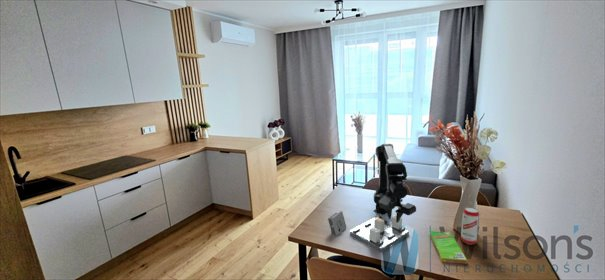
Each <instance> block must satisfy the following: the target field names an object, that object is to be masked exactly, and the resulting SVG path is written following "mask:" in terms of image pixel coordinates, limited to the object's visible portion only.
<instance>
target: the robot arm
mask: <svg viewBox="0 0 605 280" xmlns="http://www.w3.org/2000/svg"><path fill="white" fill-rule="evenodd" d="M375 155H376V157H377V159H378V162H379V168H378V169H379V170H378V185H377V186H376V188H375V192H374V193H373V202H374V204H375V209H373V212H375V213H378V214H380V215H382V216H383V215H385V214H386V215H387V218H388V219H389V220H390V219H391V220H392V216H393V215H392V214H393V209H395V208H397V209H396V210H394V212H395V213H396V214H395V215H396V222H397V223H398V222H399V220H400V218H401V217H402V218H403V215H405V216H411V215H413V214H414V213H416V212H417V206H416V205H415V204H413V203H409V202H407V203H403V199H404V198H406V197H407V195H408V192H409V191H408V189H407V187H406V186H405V185H404V182H403V181H407V180H408V179H407V177H408V172H407V167H406V166H405V164H404V163H403V161H402V160H401V159H399V158H398V157H397V155H396V153H395V150H394V145H393V144H392V143H383V144H381V145H378V146H376V148H375Z"/></svg>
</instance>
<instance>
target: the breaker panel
mask: <svg viewBox="0 0 605 280" xmlns="http://www.w3.org/2000/svg"><path fill="white" fill-rule="evenodd" d="M377 217H378V218H380V219H382V220H384V231H383V232H380V241H379V242H377V243H375V242H373V241H371V240H370V239H369V229H370V228H371V227H374V219H376V218H377ZM349 234H350V236H353V237H354V238H355V239H357V240H359V241H361V242H363V243H365V244H366V245H368V246H370V247H371V248H373V249H375V250H376V251H378V252H380V253H383V252H384V251H386V250H388V249H389V248H391V247H392V246H394V245H396V244H397V243H398V242H400V241H401V239H402V240H403V239H405V238H406V237H408V236H410V231H409V230H407V229H406V227H405V226H402V228H400V229H399V230H398V229H396V228H394V227H392V222H390V221H387V220H385V219H384V218H383V217H382V216H376V217H373V218H372V219H369V220H367V221H366V222H363V223H362V224H360V225H357V226H356V227H354V228H352V229H350V230H349ZM404 237H405V238H404ZM393 244H394V245H393ZM391 245H392V246H391ZM390 246H391V247H390ZM388 247H389V248H388ZM387 248H388V249H387ZM385 249H386V250H385Z"/></svg>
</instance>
